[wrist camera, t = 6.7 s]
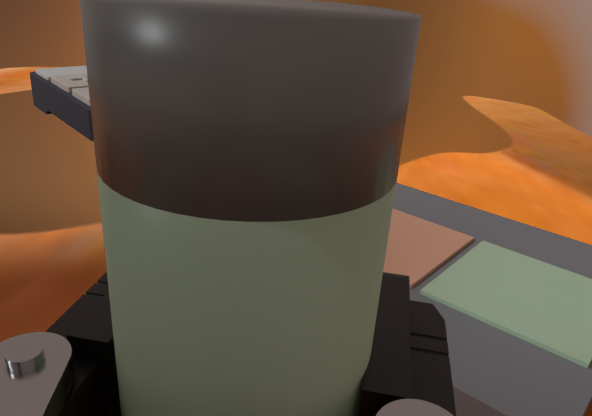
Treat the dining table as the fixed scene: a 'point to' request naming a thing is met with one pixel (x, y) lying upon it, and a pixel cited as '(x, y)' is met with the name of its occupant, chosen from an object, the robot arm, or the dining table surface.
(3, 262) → the dining table surface
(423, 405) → the robot arm
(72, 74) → the calculator
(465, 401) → the picture board
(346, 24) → the green bottle grey cap
